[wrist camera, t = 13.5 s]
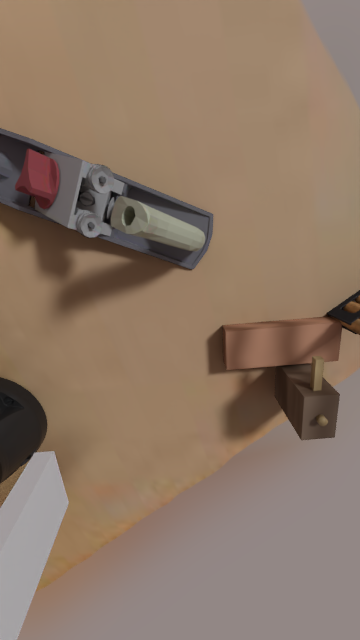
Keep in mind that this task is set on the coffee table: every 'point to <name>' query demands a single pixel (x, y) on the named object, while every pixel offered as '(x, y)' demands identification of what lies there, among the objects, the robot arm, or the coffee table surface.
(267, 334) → the board
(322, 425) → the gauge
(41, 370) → the coffee table surface
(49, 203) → the hand plane
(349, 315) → the ammunition clip
